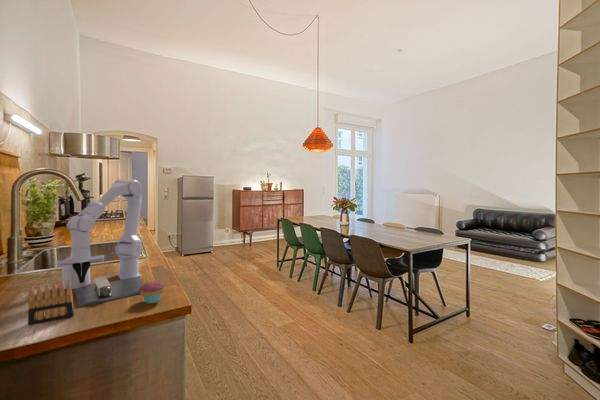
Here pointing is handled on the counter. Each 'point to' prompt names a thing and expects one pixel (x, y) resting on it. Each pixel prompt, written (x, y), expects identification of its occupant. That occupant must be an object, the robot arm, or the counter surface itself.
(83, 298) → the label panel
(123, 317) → the counter surface
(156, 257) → the counter surface
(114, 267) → the counter surface
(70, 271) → the soap bottle
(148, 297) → the cupcake
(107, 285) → the white long bar
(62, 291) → the ammunition clip
